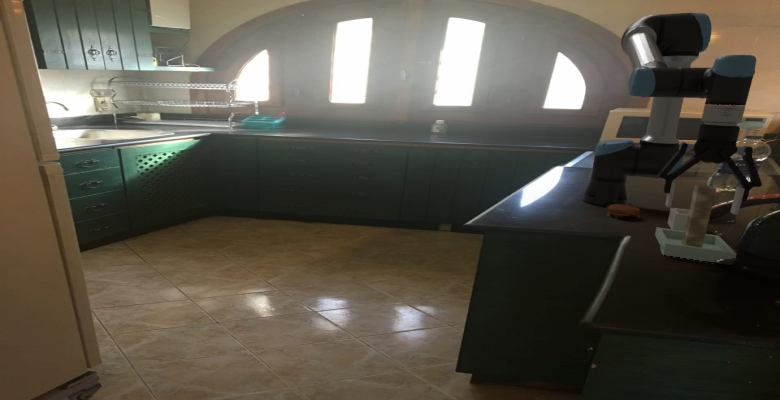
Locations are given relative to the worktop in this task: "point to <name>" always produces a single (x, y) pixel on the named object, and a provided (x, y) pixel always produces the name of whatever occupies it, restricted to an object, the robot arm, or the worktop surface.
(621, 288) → the worktop surface
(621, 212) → the burger
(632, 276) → the worktop surface
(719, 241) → the tray
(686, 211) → the white square box
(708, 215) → the peg
